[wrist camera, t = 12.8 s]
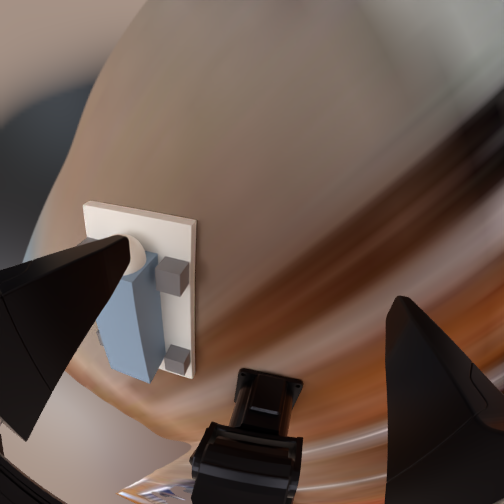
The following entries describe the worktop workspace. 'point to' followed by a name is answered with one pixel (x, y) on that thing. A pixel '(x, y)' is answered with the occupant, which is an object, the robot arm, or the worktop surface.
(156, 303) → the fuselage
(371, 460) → the worktop surface
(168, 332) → the cradle
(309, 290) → the worktop surface
